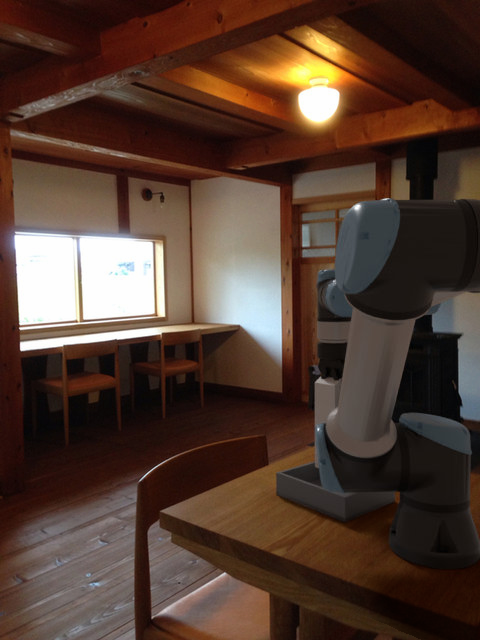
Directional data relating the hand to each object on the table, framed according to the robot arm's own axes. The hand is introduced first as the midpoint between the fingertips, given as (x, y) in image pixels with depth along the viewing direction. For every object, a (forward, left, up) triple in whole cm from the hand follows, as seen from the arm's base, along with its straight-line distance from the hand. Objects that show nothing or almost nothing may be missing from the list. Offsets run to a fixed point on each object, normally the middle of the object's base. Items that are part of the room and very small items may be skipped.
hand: (334, 445), depth 121 cm
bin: (0, 0, -12) cm, 12 cm away
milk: (0, 0, -5) cm, 5 cm away
